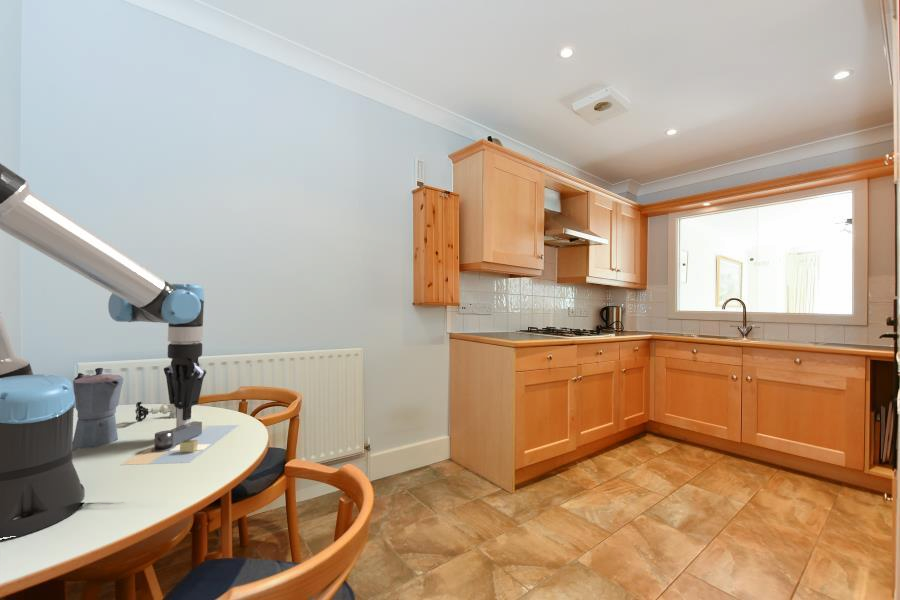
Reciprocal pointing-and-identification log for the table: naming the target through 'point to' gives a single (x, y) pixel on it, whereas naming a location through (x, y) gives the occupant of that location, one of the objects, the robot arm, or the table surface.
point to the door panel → (173, 454)
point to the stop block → (188, 446)
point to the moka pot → (96, 409)
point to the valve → (154, 411)
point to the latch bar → (177, 435)
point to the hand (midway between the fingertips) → (183, 431)
